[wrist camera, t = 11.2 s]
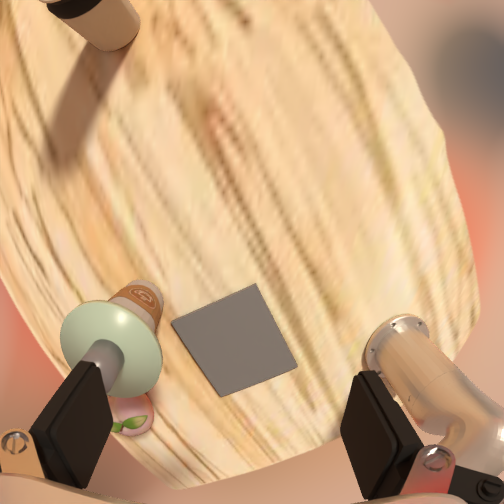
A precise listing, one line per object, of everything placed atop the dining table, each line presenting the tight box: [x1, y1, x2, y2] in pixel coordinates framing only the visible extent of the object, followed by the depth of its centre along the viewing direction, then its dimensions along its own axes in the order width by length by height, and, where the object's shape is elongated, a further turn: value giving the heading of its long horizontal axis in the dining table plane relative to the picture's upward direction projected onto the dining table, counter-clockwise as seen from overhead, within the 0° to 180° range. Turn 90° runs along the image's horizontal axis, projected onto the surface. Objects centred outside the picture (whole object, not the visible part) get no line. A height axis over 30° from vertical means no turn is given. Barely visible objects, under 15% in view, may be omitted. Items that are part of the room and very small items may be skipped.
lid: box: [60, 300, 163, 398], centre depth 28 cm, size 12×12×6 cm
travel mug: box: [39, 0, 140, 51], centre depth 26 cm, size 8×8×18 cm
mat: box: [171, 283, 298, 397], centre depth 48 cm, size 16×14×1 cm
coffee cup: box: [108, 280, 164, 334], centre depth 38 cm, size 8×8×15 cm
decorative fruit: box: [108, 394, 154, 436], centre depth 45 cm, size 9×8×10 cm
